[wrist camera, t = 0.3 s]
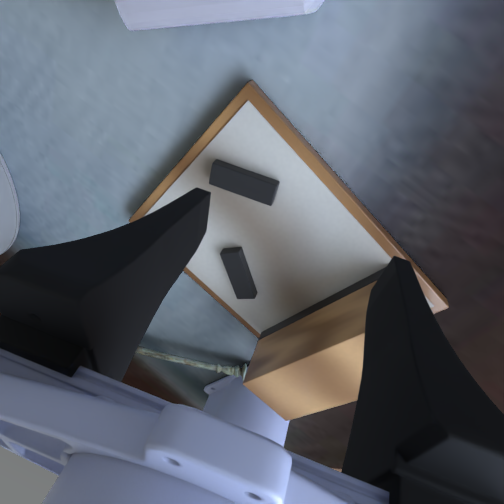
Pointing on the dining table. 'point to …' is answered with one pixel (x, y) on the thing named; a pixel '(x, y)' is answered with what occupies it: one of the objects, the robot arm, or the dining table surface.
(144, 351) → the grey slim stick
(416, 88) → the dining table surface
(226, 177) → the dark grey rectangular block
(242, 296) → the black angular block
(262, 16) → the charger
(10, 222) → the kettle
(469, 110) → the dining table surface
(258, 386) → the eraser
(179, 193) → the whiteboard
